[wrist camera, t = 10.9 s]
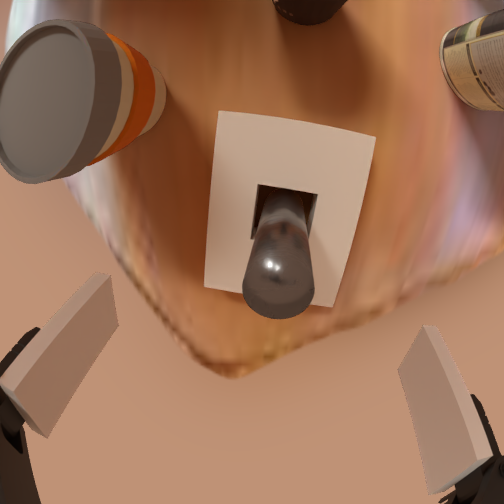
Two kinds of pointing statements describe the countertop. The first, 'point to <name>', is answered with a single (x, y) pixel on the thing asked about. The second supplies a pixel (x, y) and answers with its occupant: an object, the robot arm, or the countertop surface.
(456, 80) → the coffee can
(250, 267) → the steel pin
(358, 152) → the block with square hole
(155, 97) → the reusable coffee cup
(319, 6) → the coffee mug
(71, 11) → the countertop surface
